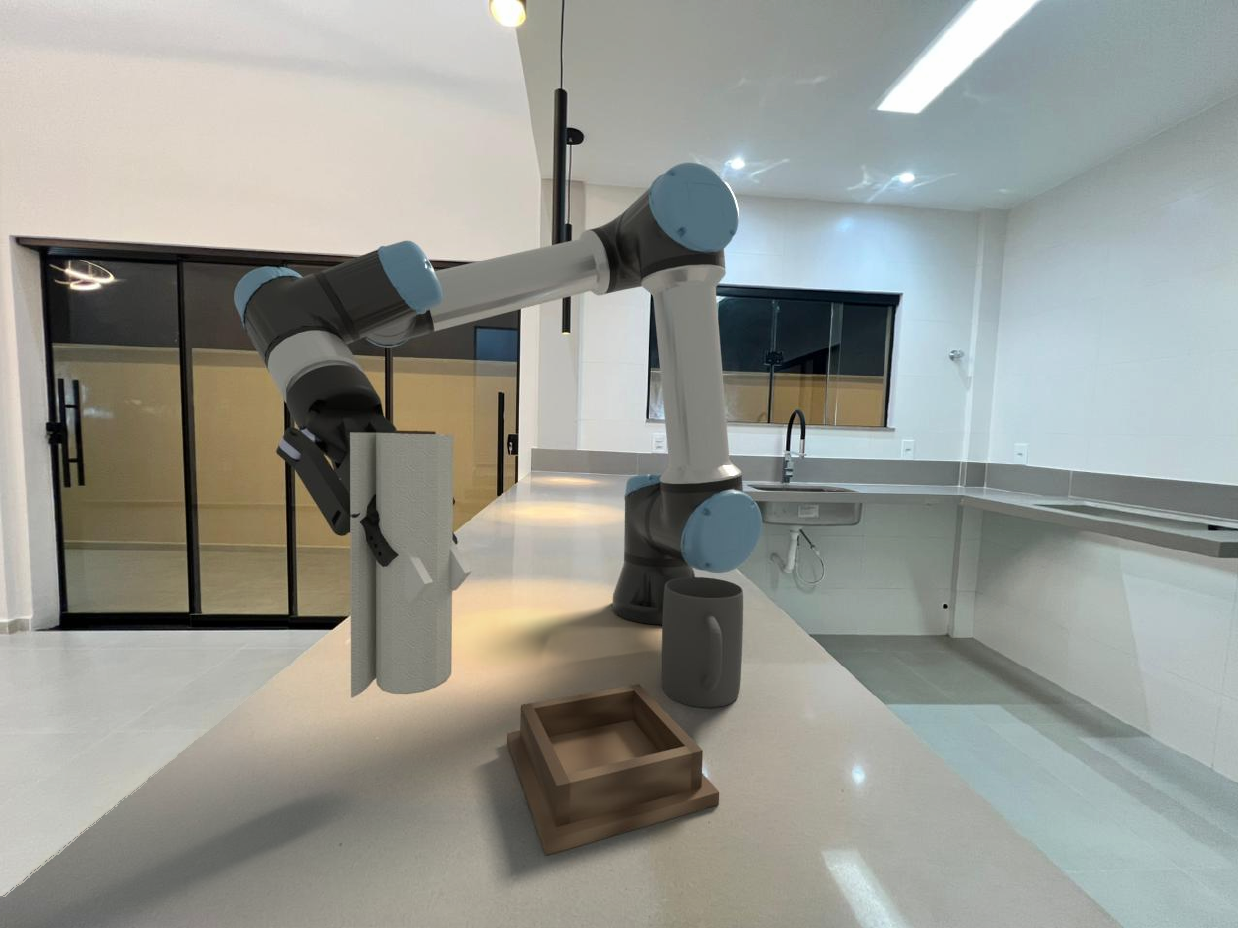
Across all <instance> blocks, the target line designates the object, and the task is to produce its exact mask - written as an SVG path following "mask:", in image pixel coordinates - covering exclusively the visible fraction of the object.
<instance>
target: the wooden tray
mask: <svg viewBox="0 0 1238 928" xmlns="http://www.w3.org/2000/svg"><path fill="white" fill-rule="evenodd" d="M519 720H520V725H519V726H520V727H519V728H520V729H519V730H517V731H511V732H507V733H506V745H507V747H508V751H509V753H510V756H511V759H512V760H511V761H512V763H513V764H514V767H515V771H516V774H517V776H518V779H519V783H520V784H521V788H522V791H523V794H524V796H525V799H526V803H527V805H528V808H529V811H530V814H531V816H532V817H531V818H532V820H533V823H534V826H535V828H536V829H535V830H537V835H538V837H539V840H540V842H541V846H542V849H543V851H544V852H543V853H544V855H545V856H549V855H553V854H555V853H558V852H562V851H563V852H564V851H566V850H570V849H572V848H575V847H580V846H582V845H583V846H584V845H586V844H589V843H593V842H597V841H599V840H603V839H606V838H609V837H614V836H617V835H620V834H623V833H626V832H630V831H633V830H637V829H640V828H643V827H647V826H649V825H654V824H657V823H661V822H663V821H667V820H671V819H674V818H677V817H680V816H684V815H687V814H691V813H695V812H697V811H701V810H704V809H708V808H710V807H711V808H712V807H714V806H718V805H720V791H719V790H718V789H717V788H716V787H715V785H714V784H713V783H712V782H711V781H710V780H709V778H708V777H706V775H705V774H704V773H703V758H704V757H703V754H704V753H703V751H704V750H703V749H702V748H701V747H700V746H699V745H698V744H697V743H696V742H695V741H694V740H693V739H692V738H691V737H690V736H689V734H688V733H687V732H686V731H684V729H683V728H682V727H681V726H680V725H679V724H678V723H677V722H676V721H675V720H674V719H673V718H672V716H670V714H669V713H667V712H666V710H664V708H663V707H661V706H660V705H659V703H658V702H657V701H656V700H655V699H654V697H652V696H651V695H650V694H649V693H648V692H647V691H646V690H645V689H644V688H643V687H642V685H640V684H639V683H638V684H631V685H627V686H620V687H614V688H608V689H603V690H599V691H598V690H597V691H593V692H586V693H579V694H575V695H574V694H573V695H570V696H565V697H564V696H563V697H558V698H551V699H546V700H541V701H535V702H528V703H524V704H520V719H519Z"/></svg>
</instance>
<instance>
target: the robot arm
mask: <svg viewBox="0 0 1238 928" xmlns="http://www.w3.org/2000/svg"><path fill="white" fill-rule="evenodd" d="M739 211H740V210H739V206H738V202H737V199H736V196H735V194H734V192H733V191H732V188H731V187H730V185H729V183H727V181H726V180H723V179H722V178H721V176H720V175H719V174H718V172H716V170H714V169H713V168H711V167H709V166H707V165H705V164H701V163H698V162H697V163H695V162H683V163H682V162H681V163H679V164H676V165H675V166H672V167H671V168H670V169H668V170H667V171H666V172H664V173H663V174H660V175H659V176H657V177H656V178H655V179H654V180H653V181H652V183H651V185H650V187H649V188H648V189H647V190H645V191H644V192H643V193H642V195H640V196H639V197H638V198H637V199H636V200H634V201H633V203H631V204H630V205H629V207H627V208H626V209H625V210H624V211H623V212H622V213H621V214H619V215H618V216H617V217H615V218H614V219H612V220H611V221H609V222H607V223H605V224H603V225H601V226H598V227H594V228H591V229H586V230H584V231H582V233H581V234H580V235H579V238H578V239H574V240H569V241H565V242H560V243H557V244H552V245H548V246H543V247H538V248H535V249H534V248H533V249H529V250H525V251H520V252H516V253H512V254H506V255H503V256H497V257H493V258H488V259H484V260H479V261H476V262H470V263H466V264H462V265H458V266H452V267H449V268H444V269H440V270H435V269H434V267H433V266H432V264H431V262H430V260H429V258H428V257H427V255H426V253H425V252H424V251H423V249H422V248H421V247H420V246H419V245H418V244H417V243H416V242H414V241H412V240H403V241H400V242H396V243H393V244H388V245H381V246H379V247H378V249H375V250H371V251H370V252H368V253H365V254H362V255H359V256H357V257H355V258H352V259H350V260H347V261H344V262H342V263H339V264H337V265H334V266H330V267H329V268H326V269H324V270H321V271H318V272H315V273H310V274H308V275H305V276H302V275H301V274H300V273H298V272H297V271H295V270H293V269H290V268H289V267H288V268H287V267H285V266H284V267H283V266H262V267H258V268H255V269H253V270H251V271H249V272H248V273H246V274H244V276H242V277H241V279H240V280H239V281H238V283H237V284H236V286H235V289H234V294H233V295H234V296H233V297H234V298H233V300H234V305H235V308H236V310H237V312H238V315H239V317H240V320H241V322H242V327H243V330H244V331H245V333H246V334H247V335H248V338H249V339H250V341H251V343H252V345H253V346H254V348H255V350H256V351H257V353H258V355H259V357H260V359H261V360H262V362H263V364H264V365H265V368H266V370H267V371H268V374H270V377H271V378H272V380H273V382H274V385H275V386H276V388H277V390H278V391H279V394H280V395H281V398H282V399H283V402H285V404H286V407H287V410H288V411H289V413H290V415H291V417H292V419H293V421H294V423H295V424H296V426H297V428H296V427H293V426H292V427H287V428H286V429H285V432H284V434H283V435H282V437H281V440H280V442H279V444H278V445H277V448H276V450H275V453H276V455H277V456H279V457H280V458H281V459H282V460H283V461H285V462H286V463H287V464H288V465H289V466H291V468H293V469H294V471H295V473H296V474H297V476H298V478H300V480H301V482H302V484H303V485H304V487H305V488H306V491H307V492H308V493H309V494H310V496H311V499H312V500H313V502H314V503H315V504H316V506H317V508H318V509H319V511H320V512H321V514H322V516H323V517H324V520H325V521H326V522H327V524H328V525H329V527H330V529H331V530H332V532H333V533H334V534H335V535H336V536H341V537H342V536H343V537H344V536H347V535H348V534H350V517H352V518H357V517H358V516H359V515H360V513H359V514H355V513H354V514H350V432H351V433H395V431H398V430H397V427H396V426H395V425H394V423H392V422H391V421H390V420H388V419H387V418H386V417H385V415H384V409H383V403H382V400H381V397H380V396H379V394H378V393H377V391H376V389H375V388H374V385H372V382H371V381H370V379H369V378H368V376H367V375H366V374H365V372H364V370H363V368H362V367H361V365H360V363H359V361H358V360H357V359H356V357H355V356H354V353H352V351H351V349H350V348H349V347H348V345H349V344H351V343H354V342H357V341H359V340H361V339H362V338H364V339H366V341H368V342H370V343H371V344H373V345H375V346H378V347H381V348H395V347H399V346H401V345H403V344H405V343H406V342H408V341H409V340H410V339H413V338H418V337H421V336H424V335H425V336H426V335H427V334H431V333H434V332H437V331H441V330H445V329H449V328H452V327H456V326H460V325H464V324H468V323H472V322H476V321H480V320H484V319H488V318H491V317H496V316H498V315H503V314H507V313H509V312H514V311H518V310H522V309H525V308H531V307H534V306H539V305H542V304H546V303H549V302H553V301H557V300H560V299H564V298H568V297H571V296H572V297H573V296H576V295H579V294H584V293H588V292H591V293H593V294H594V295H596V296H603V295H607V294H611V293H615V292H621V291H624V290H631V289H635V288H640V287H641V288H643V289H644V290H646V291H647V292H648V293H649V294H650V295H652V297H653V306H654V307H653V309H654V319H655V327H656V328H655V329H656V330H655V331H656V339H657V340H656V341H657V349H658V358H659V359H658V361H659V370H660V371H659V372H660V381H661V383H660V384H661V394H662V401H663V415H664V425H665V436H666V444H667V445H666V446H667V456H668V467H667V469H666V470H665V471H664V472H663V473H655V474H654V473H651V474H650V473H649V474H637V475H632V476H631V477H629V478H628V480H627V481H626V485H625V486H626V487H625V494H624V496H623V497H624V498H623V499H624V533H623V534H624V539H623V541H624V542H623V543H624V544H623V547H624V548H623V551H624V552H623V553H624V554H623V564H622V565H623V566H622V568H621V571H620V574H619V577H618V580H617V582H616V585H615V588H614V591H613V594H612V611H613V612H614V614H616V615H617V616H619V617H621V618H622V619H625V620H629V621H632V622H637V623H643V624H649V625H662V623H663V600H664V588H665V584H666V583H667V582H668V581H670V580H673V579H677V578H684V577H696V573H695V570H698V571H704V572H709V573H710V574H725V573H729V572H732V571H735V570H736V569H739V568H740V567H741V566H742V565H744V564H745V563H746V562H747V561H748V560H749V559H750V556H751V554H752V553H754V552H755V551H756V549H757V547H758V546H759V543H760V541H761V536H762V533H763V532H762V531H763V516H762V512H761V509H760V508H759V505H758V504H757V502H756V501H754V500H753V499H752V497H751V496H750V495H749V494H748V493H747V494H746V492H744V488H743V487H744V486H743V473H742V471H741V469H740V468H739V467H737V466H736V465H735V464H733V462H731V460H730V449H729V439H728V425H727V424H728V423H727V412H726V400H725V389H724V386H725V385H724V375H723V373H724V372H723V363H722V351H721V337H720V325H719V314H718V313H719V312H718V303H717V301H718V300H717V287H718V286H719V284H720V282H721V281H723V278H724V277H725V276H726V274H727V273H726V261H725V260H726V259H725V248H726V247H727V246H728V245H729V244H730V243H731V242H732V241H733V237H734V236H735V235H736V233H737V231H738V228H739V223H740V212H739ZM327 458H328V459H329V460H330V462H331V463H330V462H329V460H328V459H327ZM455 504H456V500H455V498H454V497H453V506H455ZM351 515H352V516H351ZM379 521H380V519H379V513H378V511H377V510H376V494H374V496H373V497H372V499H371V501H370V503H369V504H368V506H367V516H366V517H365V518H363V519H362V520H361V521H360V523H361V524H362V526H363V527H364V530H365V534H366V541H367V543H368V545H369V547H370V548H371V550H372V552H373V554H374V556H375V558H376V560H377V561H378V563H379V564H380V565H381V566H382V567H386V566H388V565H389V564H390V563H391V561H392V560H393V559H395V558H396V557H397V556H398V555H399V554H398V553H396V552H395V551H394V550H393V549H392V548H391V546H390V545H389V543H388V542H387V541H386V539H385V538H384V536H383V535H382V533H381V530H380V527H379ZM458 543H459V542H458V537H457V536H456V534H455V533H454V532H453V540H452V547H451V549H450V592H451V591H452V592H453V591H457V590H458V589H459V588H460V587H461V585H462V584H463V583H464V582H465V580H467V578H468V577H469V576H470V574H471V573H472V572H473V570H472V568H471V567H470V565H469V564H468V562H467V561H466V559H465V557H464V556H463V554H462V553H461V551H460V550H459V548H458V546H457V545H458ZM694 569H695V570H694ZM432 582H433V581H432V579H431V577H430V576H429V574H428V572H427V571H426V569H425V567H424V565H423V564H422V562H421V560H420V558H419V557H418V556H417V555H415V554H413V553H411V552H409V551H407V550H406V549H405V597H406V599H407V601H408V603H409V604H411V603H414V602H417V601H418V600H419V599H420V598H421V596H422V595H423V594H424V593H425V591H426V590H427V589H428V588H429V586H430V585H431V584H432Z"/></svg>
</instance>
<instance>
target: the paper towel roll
mask: <svg viewBox="0 0 1238 928" xmlns="http://www.w3.org/2000/svg"><path fill="white" fill-rule="evenodd" d="M374 494H376V510H377V511H378V513H379V519H380V521H379V527H380V530H381V533H382V535H383V536H384V538H385V539H386V541H387V542H388V543H389V545H390V546H391V548H392V549H393V550H394V551H395V552H396V553H398V554H399V555H398V556H397V557H396V558H395V559H393V560H392V561H391V563H390V564H389V565H388V566H386V567H382V566H381V565H380V564H379V563H378V561H377V560H376V558H375V556H374V554H373V552H372V550H371V548H370V547H369V545H368V543H367V541H366V534H365V530H364V527H363V526H362V524H361V523H360V521H361V520H362V519H363V518H365V517H366V516H367V506H368V504H369V503H370V501H371V499H372V497H373V496H374ZM453 498H454V434H450V433H449V434H446V433H445V434H443V433H442V434H441V433H437V432H436V431H432V430H431V431H430V430H429V431H428V430H427V431H426V430H397V431H395V433H351V432H350V514H354V513H355V514H359V513H360V515H359V516H358V517H357V518H352V517H350V533H349V534H350V537H349V538H350V544H349V545H350V547H349V548H350V549H349V550H350V554H349V555H350V698H351V699H353V698H354V697H357V696H358V695H361V694H362V693H363V692H364V691H366V690H367V689H369V687H370V686H371V684H372V683H373V682H374V681H375V680H376V681H375V682H376V686H377V687H378V688H379V689H380V690H381V691H382V692H385V693H390V694H392V695H412V694H417V693H418V694H420V693H424V692H427V691H431V690H433V689H436V688H438V687H439V686H441V685H443V684H444V683H446V682H447V681H448V679H450V677H451V675H452V664H453V663H452V662H453V661H452V659H453V658H452V653H453V652H452V648H453V645H452V644H453V639H452V638H453V632H452V631H453V628H452V627H453V624H452V623H453V591H451V592H450V549H451V547H452V540H453V533H454V531H453V529H454V528H453V523H454V519H453V518H454V517H453V516H454V513H453V512H454V510H453V509H454V507H453V506H454V505H453ZM351 516H352V515H351ZM405 549H406V550H407V551H409V552H411V553H413V554H415V555H417V556H418V557H419V558H420V560H421V562H422V564H423V565H424V567H425V569H426V571H427V572H428V574H429V576H430V577H431V579H432V581H433V582H432V584H431V585H430V586H429V588H428V589H427V590H426V591H425V593H424V594H423V595H422V596H421V598H420V599H419V600H418V601H417V602H414V603H411V604H409V603H408V601H407V599H406V597H405Z"/></svg>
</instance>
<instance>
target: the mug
mask: <svg viewBox="0 0 1238 928" xmlns="http://www.w3.org/2000/svg"><path fill="white" fill-rule="evenodd" d="M661 625H662V631H661V667H660V668H661V686H662V689H663V692H664V693H665V694H666V695H667V696H668V697H669V698H671V699H673V700H674V701H676V702H678V703H681V704H683V705H687V706H691V707H697V708H707V709H708V708H709V709H711V708H718V707H719V708H721V707H725V706H727V705H730V704H732V703H733V702H735V701H736V700H737V698H738V697H739V695H740V691H741V677H742V660H743V658H742V657H743V636H744V635H743V633H744V632H743V630H744V627H743V626H744V591H743V588H742V587H741V586H740V585H738V584H736V583H734V582H731V581H728V580H724V579H720V578H713V577H704V576H695V577H684V578H677V579H673V580H670V581H668V582H667V583H666V584H665V588H664V600H663V623H662V624H661Z"/></svg>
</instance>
